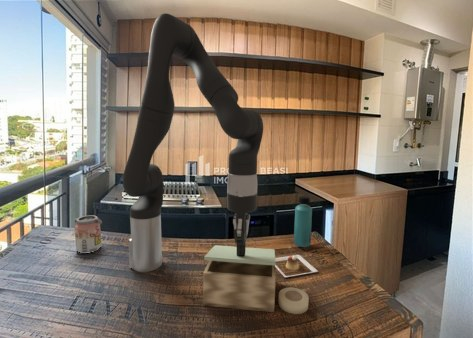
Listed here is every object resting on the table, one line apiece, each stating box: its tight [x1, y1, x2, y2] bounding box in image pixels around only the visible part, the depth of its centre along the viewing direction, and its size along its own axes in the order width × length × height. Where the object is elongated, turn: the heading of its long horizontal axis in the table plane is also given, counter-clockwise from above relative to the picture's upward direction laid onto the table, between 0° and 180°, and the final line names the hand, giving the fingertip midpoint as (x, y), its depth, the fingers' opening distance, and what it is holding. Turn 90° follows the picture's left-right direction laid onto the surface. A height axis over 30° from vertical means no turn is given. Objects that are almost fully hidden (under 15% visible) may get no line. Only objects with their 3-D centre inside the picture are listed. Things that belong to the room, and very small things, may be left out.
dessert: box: [275, 254, 319, 278], centre depth 90 cm, size 12×12×5 cm
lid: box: [203, 244, 277, 266], centre depth 74 cm, size 18×14×1 cm
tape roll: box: [278, 286, 310, 315], centre depth 71 cm, size 8×8×2 cm
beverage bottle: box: [293, 195, 313, 248], centre depth 103 cm, size 6×7×20 cm
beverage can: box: [74, 214, 103, 253], centre depth 99 cm, size 9×8×12 cm
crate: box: [202, 260, 276, 313], centre depth 75 cm, size 18×14×9 cm
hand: (240, 255), depth 71 cm, fingers closed
